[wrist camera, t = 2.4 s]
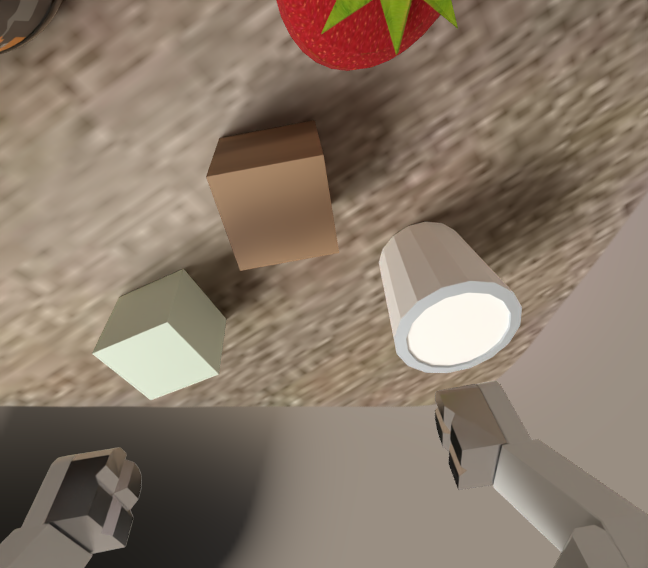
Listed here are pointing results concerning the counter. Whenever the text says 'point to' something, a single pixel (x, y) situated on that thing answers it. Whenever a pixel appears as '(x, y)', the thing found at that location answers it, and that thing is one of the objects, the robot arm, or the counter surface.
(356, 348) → the counter surface
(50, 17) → the supplement container
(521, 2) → the counter surface
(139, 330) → the sage block
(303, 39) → the strawberry
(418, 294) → the shot glass
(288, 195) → the walnut block
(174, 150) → the counter surface
